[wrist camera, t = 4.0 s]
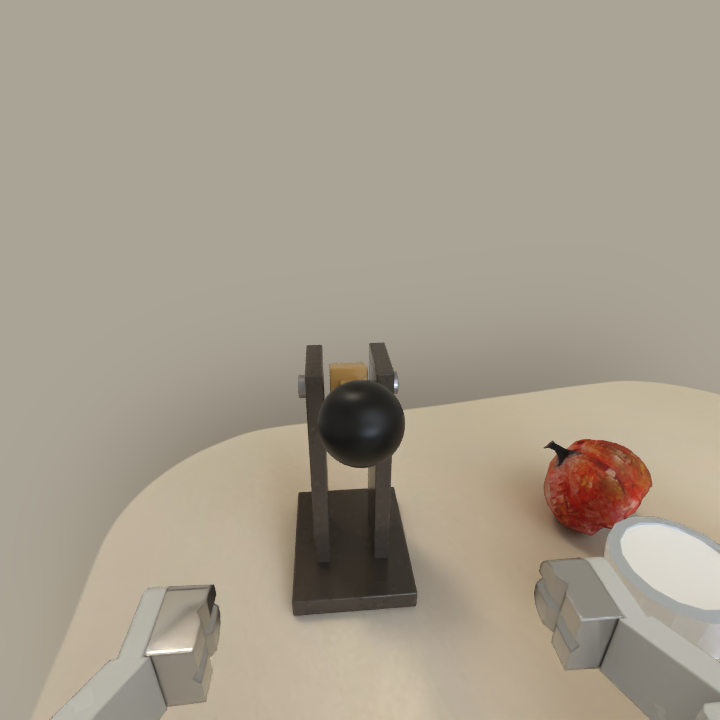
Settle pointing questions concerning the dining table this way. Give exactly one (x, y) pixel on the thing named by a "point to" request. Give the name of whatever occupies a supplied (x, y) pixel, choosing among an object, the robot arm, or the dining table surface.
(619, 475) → the pomegranate
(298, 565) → the grey lever stand
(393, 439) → the latch lever
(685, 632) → the white cup
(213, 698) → the dining table surface
